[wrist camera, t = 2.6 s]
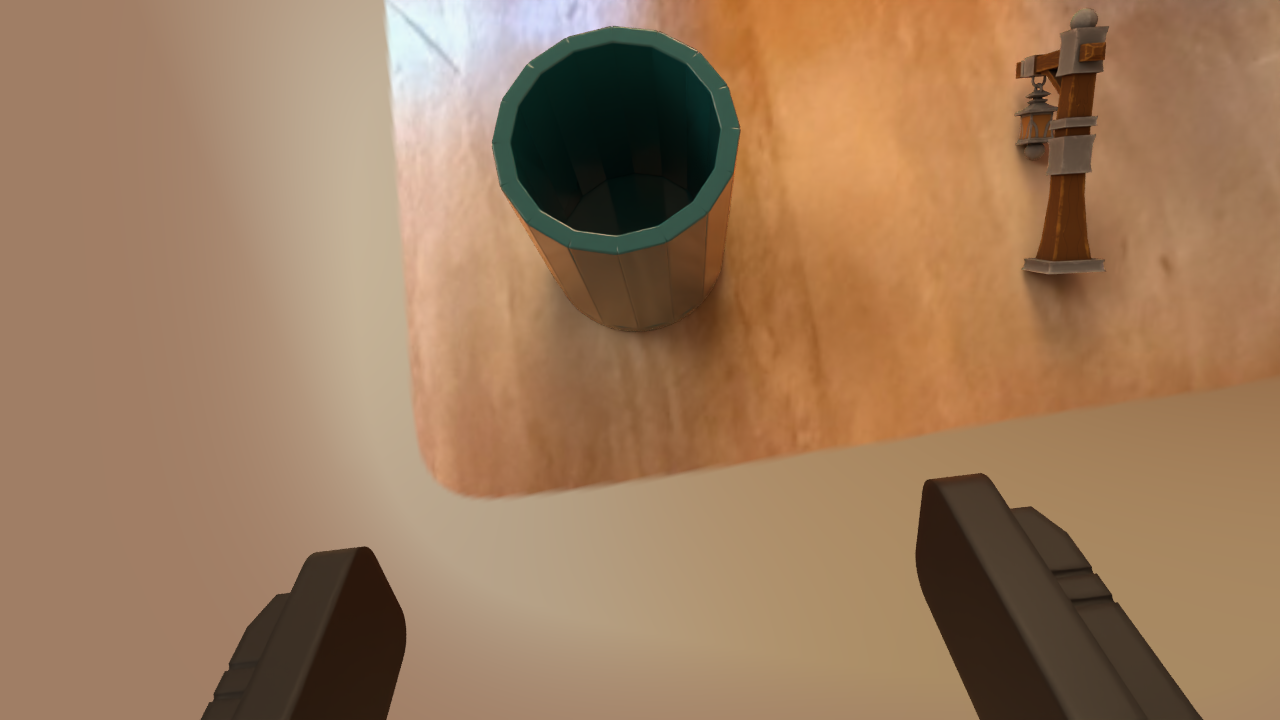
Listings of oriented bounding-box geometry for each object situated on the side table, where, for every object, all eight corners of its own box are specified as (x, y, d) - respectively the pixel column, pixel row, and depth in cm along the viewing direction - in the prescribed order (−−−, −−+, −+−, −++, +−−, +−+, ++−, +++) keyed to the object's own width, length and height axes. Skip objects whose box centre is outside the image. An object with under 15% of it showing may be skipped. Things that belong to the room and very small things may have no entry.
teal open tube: (571, 350, 25) (518, 278, 17) (538, 192, 26) (474, 59, 18) (742, 308, 25) (766, 218, 17) (700, 152, 26) (704, 1, 18)
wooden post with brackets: (1052, 34, 25) (1133, -2, 21) (1038, 261, 27) (1110, 272, 22) (999, 38, 25) (1069, 2, 21) (989, 263, 27) (1051, 275, 22)
